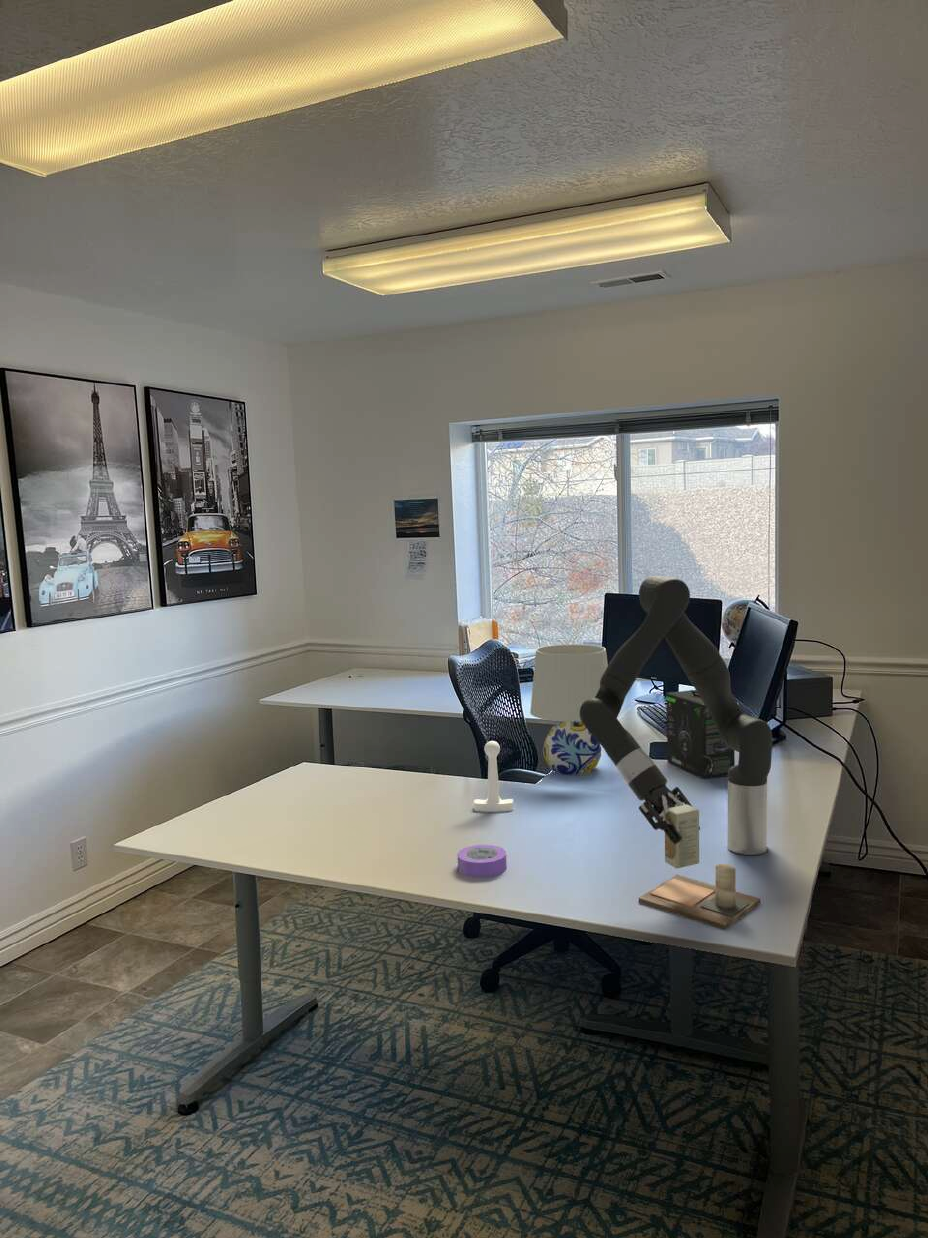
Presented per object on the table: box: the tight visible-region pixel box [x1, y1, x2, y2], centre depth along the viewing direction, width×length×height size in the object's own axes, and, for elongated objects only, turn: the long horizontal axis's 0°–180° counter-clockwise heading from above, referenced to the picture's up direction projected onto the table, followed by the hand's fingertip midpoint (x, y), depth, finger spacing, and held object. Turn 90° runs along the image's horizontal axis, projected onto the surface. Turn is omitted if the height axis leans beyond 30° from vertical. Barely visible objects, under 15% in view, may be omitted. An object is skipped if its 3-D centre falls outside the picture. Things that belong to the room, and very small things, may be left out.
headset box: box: [665, 689, 736, 779], centre depth 287 cm, size 22×12×26 cm, turn 17°
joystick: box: [473, 740, 514, 813], centre depth 254 cm, size 11×8×20 cm
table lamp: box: [529, 643, 609, 776], centre depth 289 cm, size 27×27×40 cm
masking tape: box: [457, 844, 508, 878], centre depth 212 cm, size 12×12×4 cm
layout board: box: [638, 863, 762, 931], centre depth 189 cm, size 16×20×9 cm
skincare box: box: [664, 804, 700, 869], centre depth 190 cm, size 6×4×12 cm
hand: (688, 836), depth 189 cm, fingers closed on skincare box, 7 cm apart
